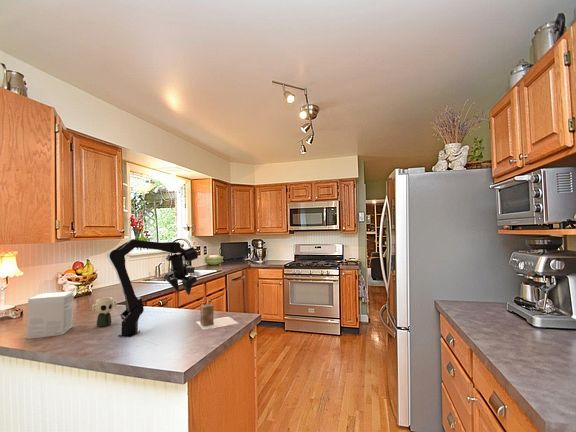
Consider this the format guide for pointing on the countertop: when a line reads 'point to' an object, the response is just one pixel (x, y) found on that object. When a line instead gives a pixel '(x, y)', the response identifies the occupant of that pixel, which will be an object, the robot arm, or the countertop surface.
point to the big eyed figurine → (104, 310)
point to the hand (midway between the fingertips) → (183, 292)
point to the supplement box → (49, 314)
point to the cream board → (219, 323)
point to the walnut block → (207, 315)
